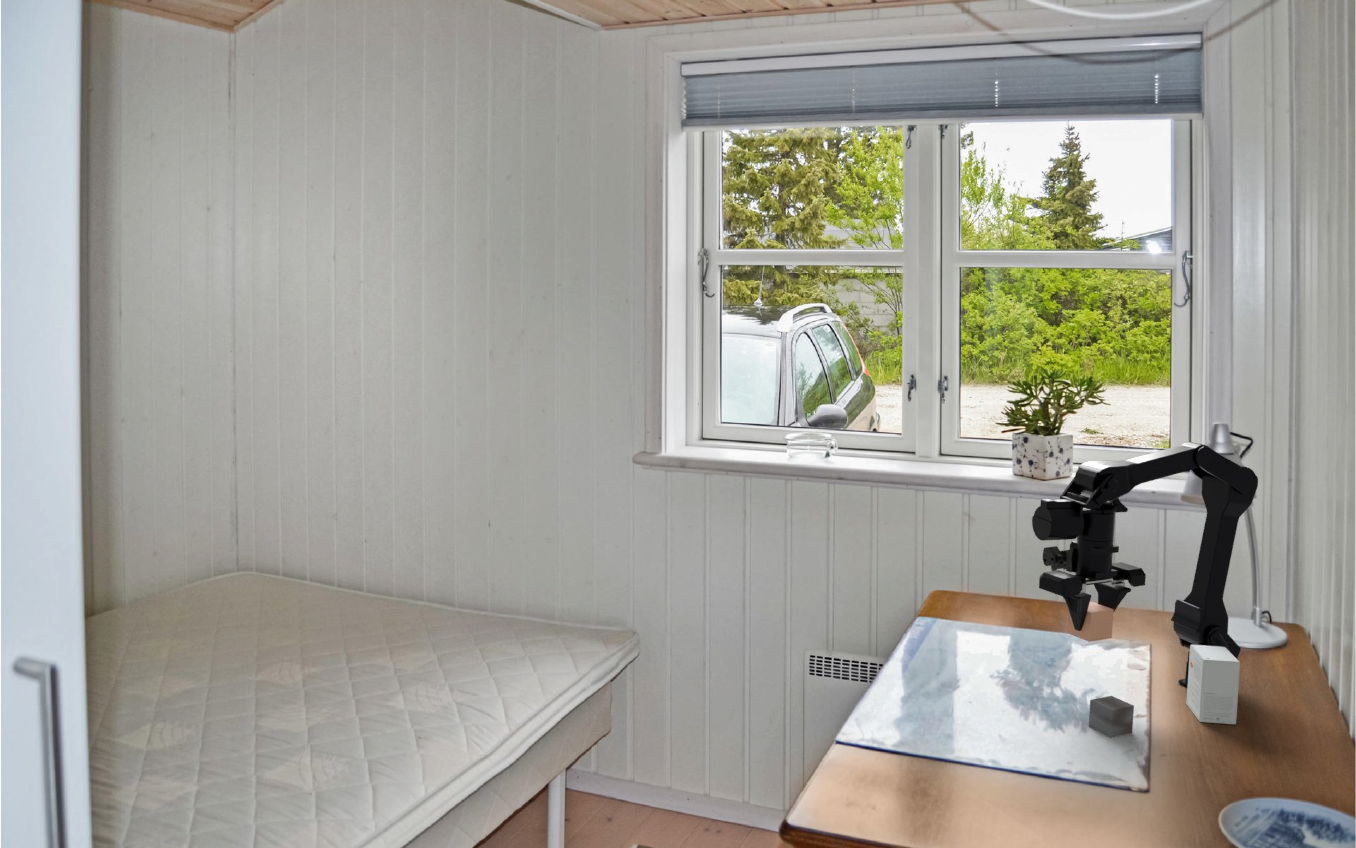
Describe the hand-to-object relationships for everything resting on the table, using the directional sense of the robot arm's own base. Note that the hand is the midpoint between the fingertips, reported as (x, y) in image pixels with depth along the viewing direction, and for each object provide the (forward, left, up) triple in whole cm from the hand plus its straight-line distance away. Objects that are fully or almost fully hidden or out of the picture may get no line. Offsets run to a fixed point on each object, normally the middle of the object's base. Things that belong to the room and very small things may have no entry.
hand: (1089, 628), depth 180 cm
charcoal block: (+7, +12, -12) cm, 18 cm away
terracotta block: (0, 0, -1) cm, 1 cm away
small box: (-13, +14, -12) cm, 23 cm away
